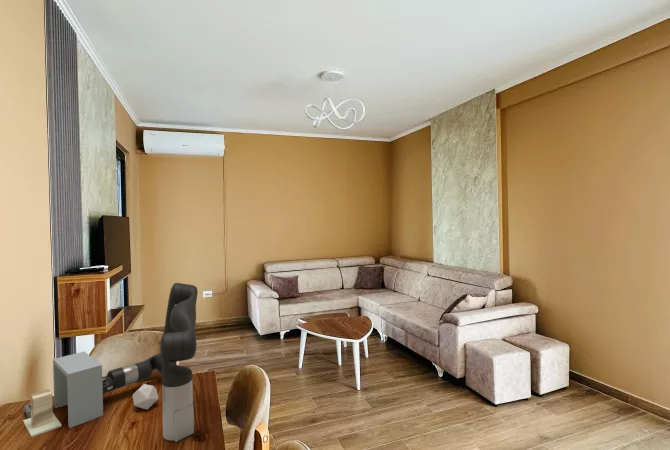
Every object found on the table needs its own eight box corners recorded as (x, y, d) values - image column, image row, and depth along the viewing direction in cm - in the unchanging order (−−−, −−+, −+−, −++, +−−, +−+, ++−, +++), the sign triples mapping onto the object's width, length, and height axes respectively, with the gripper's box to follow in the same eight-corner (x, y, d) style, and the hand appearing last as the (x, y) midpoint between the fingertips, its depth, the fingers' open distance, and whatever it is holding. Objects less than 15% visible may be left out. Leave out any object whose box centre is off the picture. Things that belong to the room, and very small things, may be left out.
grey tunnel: (103, 415, 129) (101, 364, 129) (69, 428, 122) (68, 374, 122) (85, 397, 143) (84, 351, 143) (54, 407, 135) (52, 359, 135)
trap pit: (52, 410, 133) (52, 404, 133) (28, 419, 128) (27, 412, 128) (48, 404, 138) (47, 398, 138) (24, 412, 132) (24, 405, 132)
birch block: (52, 421, 125) (52, 393, 125) (34, 428, 121) (33, 399, 121) (49, 416, 128) (48, 389, 128) (31, 422, 124) (30, 394, 124)
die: (163, 405, 137) (160, 380, 142) (151, 404, 130) (148, 378, 134) (142, 414, 136) (140, 389, 141) (129, 414, 129) (126, 387, 133)
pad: (61, 426, 123) (61, 424, 123) (31, 437, 117) (31, 435, 117) (51, 412, 132) (51, 410, 132) (23, 421, 126) (23, 420, 126)
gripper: (116, 363, 148) (68, 376, 136) (129, 372, 139) (80, 387, 127) (116, 380, 149) (69, 396, 136) (130, 391, 139) (81, 408, 127)
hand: (74, 391), depth 132 cm, fingers open, 8 cm apart
